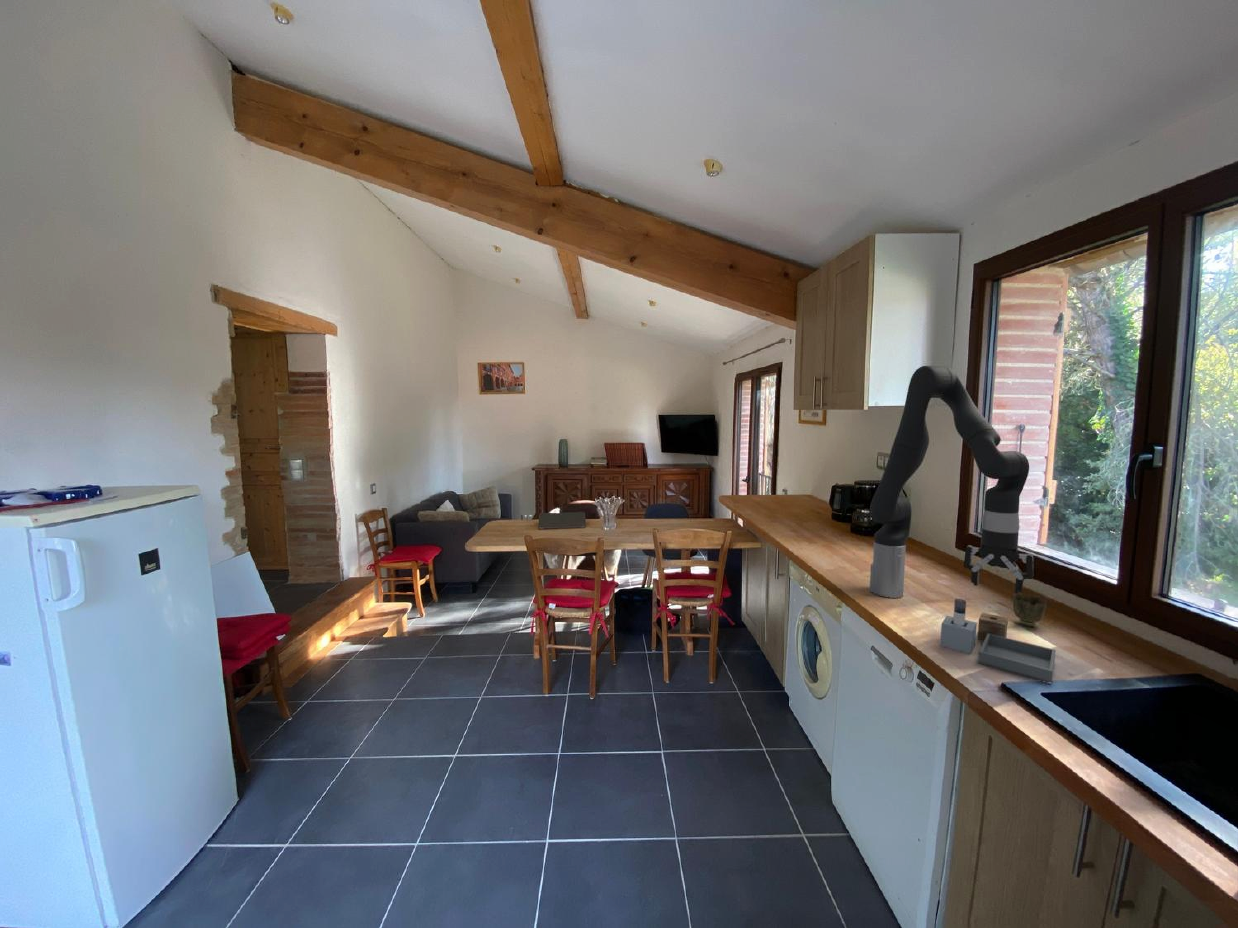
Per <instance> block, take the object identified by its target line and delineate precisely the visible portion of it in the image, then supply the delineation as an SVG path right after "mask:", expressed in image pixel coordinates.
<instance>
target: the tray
mask: <svg viewBox="0 0 1238 928" xmlns="http://www.w3.org/2000/svg"><path fill="white" fill-rule="evenodd" d="M1056 653H1057V652H1056V649H1053V648H1048V647H1044V646H1041V645H1036V644H1034V643H1029V642H1025V641H1021V640H1016V639H1012V638H1008V637H1006V638H1005V637H1001V636H997V635H993V634H989V633H987V636H986V638H985V640H984V642H982V645H981V647H980V649H979V653H978V664H979V665H982V666H986V667H989V668H994V669H997V670H1001V671H1004V672H1006V673H1007V672H1008V673H1010V674H1014V675H1018V676H1021V677H1025V678H1028V679H1032V680H1035V681H1039V682H1042V681H1045V682H1051V683H1053V676H1054V671H1055V670H1054V668H1055V660H1056ZM1045 682H1044V683H1045Z"/></svg>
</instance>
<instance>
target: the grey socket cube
mask: <svg viewBox="0 0 1238 928" xmlns="http://www.w3.org/2000/svg"><path fill="white" fill-rule="evenodd" d="M953 619H954V616H949V615H946V616H945V618H944V619H943V621H942V622H941V625H940V626H941V629H940V643H939V645H940V646H941V647H944V648H949V649H950V650H951V649H952V650H954V651H955V650H956V651H959V652H962V653H966V654H970V655H971V654H972V652H973V650H974V648H975V646H976V641H977V640H976V637H977V625H978V623H977V622H976V621H971V620H969V619H968V620H966V619H965V626H964V627H963V626H959V625H955V624H953Z"/></svg>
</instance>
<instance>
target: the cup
mask: <svg viewBox="0 0 1238 928" xmlns="http://www.w3.org/2000/svg"><path fill="white" fill-rule="evenodd" d="M1047 604H1048V601H1047V600H1046V599H1043V598H1042V597H1041V598H1040V597H1039V596H1038V595H1032V594H1028V596H1025V595H1023V593H1019V594H1017V593H1013V594H1012V608H1013V613H1014V615H1015V616H1016V617H1017V618H1018V621H1019V623H1020V625H1022V626H1024V627H1027V628H1035V627H1036V626H1037V623H1038V622H1040V621H1041V620H1042V619H1043V618H1044V616H1045V612H1046V608H1047Z"/></svg>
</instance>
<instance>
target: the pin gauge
mask: <svg viewBox="0 0 1238 928" xmlns="http://www.w3.org/2000/svg"><path fill="white" fill-rule="evenodd" d="M966 609H967V600H965V599H962V598H955V599H954V607H953V617H954V619H953V624H955V625H959V626H963V627H964V626H965V620H966V611H967V610H966Z"/></svg>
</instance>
